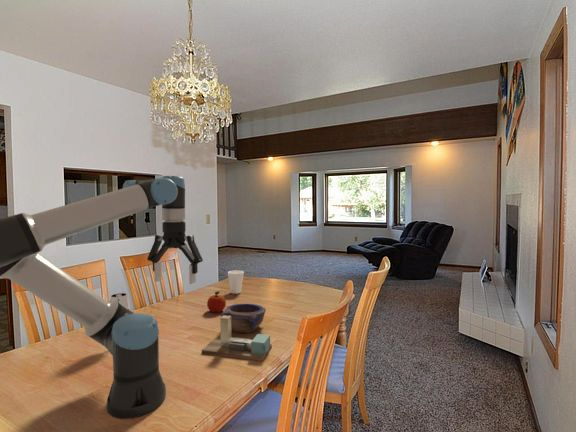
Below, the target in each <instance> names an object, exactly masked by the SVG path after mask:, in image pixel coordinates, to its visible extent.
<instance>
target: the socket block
mask: <svg viewBox="0 0 576 432" xmlns="http://www.w3.org/2000/svg"><path fill="white" fill-rule="evenodd" d="M251 340H252V341H251V354H260V355H265V353H266V352H267V350H268V349H269V348H270V344H271V335H270V334H262V333H257V334H256V335H255V336H254V337H253V339H251Z"/></svg>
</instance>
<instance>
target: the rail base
mask: <svg viewBox="0 0 576 432" xmlns="http://www.w3.org/2000/svg"><path fill="white" fill-rule="evenodd" d="M234 338H239V339H248V340H251V338H245V337H237V336H235V337H234ZM272 348H273V347H272V343H270V348H269V349H268V350H267V352H266V353H265V355H260V354H251V350H246V349H245V344H241V343H232V342H230V343H229V347H221V337H220V338H219V337H214V339H212V340H211V341H210V342H209V343H208V344H207V345H206V346H204V348H202V349H201V354H204V355H211V356H221V357H229V358H237V359H245V360H251V361H252V360H253V361H261V362H263V361H264V360H265V358H266V356H267V355H268V354H269V352H270V351H271V349H272Z"/></svg>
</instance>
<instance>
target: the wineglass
mask: <svg viewBox="0 0 576 432" xmlns="http://www.w3.org/2000/svg"><path fill="white" fill-rule="evenodd" d="M109 301H117V302H118V303H119V304H121V305H122V306H124V307H125V308H126V309H129V310H130V311H131V305H130V301H129V298H128V294H127V293H124V292H119V293H114V294H112V295H110V299H109Z"/></svg>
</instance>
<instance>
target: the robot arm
mask: <svg viewBox="0 0 576 432" xmlns="http://www.w3.org/2000/svg"><path fill="white" fill-rule="evenodd" d="M158 206H161V220H162V221H163V222H162V223H161V224H162V233H163V234H161V233H160V234H155V236H154V241H153V244H152V246H151V248H150V251H149V253H148V256H147V261H150V262H152V271H153V272H154V282H161V281H162V261H160V260H161V259H162V257H163V256H164V255H165V253H166V252H167V251H168V249H172V248H173V249H178V250H180V251H181V252H182V254H183V255H184V256H185V258H186V259H187V261H189V262H190V264H189V265H188V271H189V273H188V274H189V277H188V278H189V279H188V280H189V285H193V284H195V283H196V280H197V279H196V277H197V276H196V274H198V265H199V263H202V262H203V261H204V260H203V257H202V255H201V252H200V251H199V249H198V246H197V244H196V242H195V235H193V234H190V235H186V222H185V220H186V183H185V178H184V177H183V176H179V175H163V176H162V177H158V178H154V179H144V180H139V179H133V180H132V179H131V180H125V181H124V183H123V185H122V188H119V189H117V190H114V191H113V190H112V191H110V192H106V193H103V194H99V195H96V196H92V197H89V198H85V199H82V200H79V201H76V202H72V203H68V204H65V205H60V206H58V207H54V208H49V209H48V210H45V211H41V212H37V213H33V214H28V213H24V212H21V213H18V214H14V215H10V216H4V217H0V279H1V280H2V279H8V280H10V281H11V282H13V283H15V284H17V285H18V286H19V287H21V288H22V289H24V290H26V291H28V292H29V293H30V294H32V295H34V296H35V297H37V298H39V299H40V300H41V301H43V302H45V303H47V304H48V305H50V306H51V307H53V308H54V309H56V310H57V311H59V312H60V313H62V314H64V315H65V316H67V317H69V318H70V319H71V320H74V321H75V322H76V323H78V324H80V325H81V326H83V327H84V334H85V336H87V337H89V338H91V339H92V340H94V341H96V342H97V343H99V344H100V345H101V346H103V347H105V349H107V350H108V352H109V353H110V355H112V365H113V366H112V367H113V368H112V369H113V371H112V374H113V380H112V383H111V387H110V390H109V393H108V396H107V398H106V412H107V414H108V415H109V416H111V417H113V418H117V419H131V418H136V417H140V416H144V415H146V414H148V413H150V412H152V411H154V410H156V409H157V408H158V407H160V406H161V405H162V404H163V403H164V401H165V399H166V398H167V397H166V396H167V388H166V384H165V382H164V380H163V378H162V374H161V372H160V369H159V368H160V363H159V361H160V357H159V355H160V354H159V353H160V351H159V350H160V349H159V347H160V346H159V335H160V329H159V323H158V320H157V319H156V318H155V316H153V315H150V314H147V313H145V314H144V313H140V312H139V313H137V312H136V313H134V312H133V311H132V310H131V309H130V310H129V309H126V308H125V307H124V306H122V305H121V304H119V303H118V302H117V301H110V300H109V301H107V300H105V299H104V298H103V297H101V295H98V294H97V293H96V292H95V291H93V290H91V288H89V287H87V286H86V285H84V284H83V283H82V282H81V281H79V280H78V279H77V278H74V277H73V276H72V275H70V274H69V273H68V272H67V271H65V270H63V269H62V268H61V267H59V266H57V265H56V264H55V263H54V262H52V261H51V260H49V259H48V258H46V257H45V256H43V254H41V253H40V252H43V249H44V247H45V246H46V245H49V244H53V243H55V242H58V241H61V240H63V239H67V238H69V237H72V236H74V235H79V234H81V233H84V232H86V231H90V230H92V229H94V228H95V229H96V228H97V227H100V226H104V225H106V224H108V223H112V222H115V221H118V220H120V219H122V218H126V217H128V216H129V217H130V216H131V215H134V214H136V213H139V212H143V211H146V210H149V209H153V208H155V207H158ZM162 241H163V243H162ZM161 244H162V245H161Z"/></svg>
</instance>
